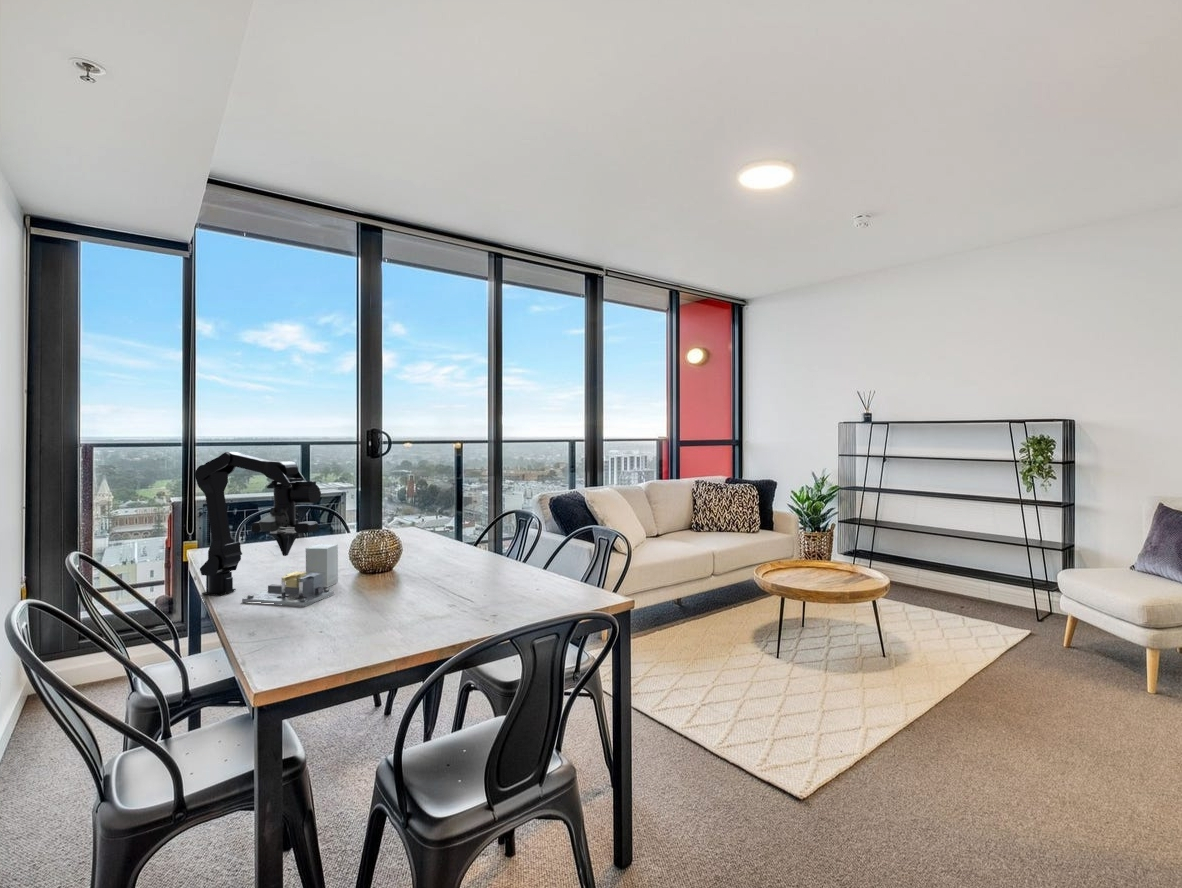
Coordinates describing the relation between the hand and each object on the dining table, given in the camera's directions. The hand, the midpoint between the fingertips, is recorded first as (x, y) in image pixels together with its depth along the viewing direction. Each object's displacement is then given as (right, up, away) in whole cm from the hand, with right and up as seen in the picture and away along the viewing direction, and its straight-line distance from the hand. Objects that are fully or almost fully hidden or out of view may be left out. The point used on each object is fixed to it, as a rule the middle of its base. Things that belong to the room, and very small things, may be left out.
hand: (285, 555), depth 181 cm
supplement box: (+4, -13, +16) cm, 21 cm away
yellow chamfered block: (+2, -11, -1) cm, 11 cm away
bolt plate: (+2, -13, -1) cm, 13 cm away
